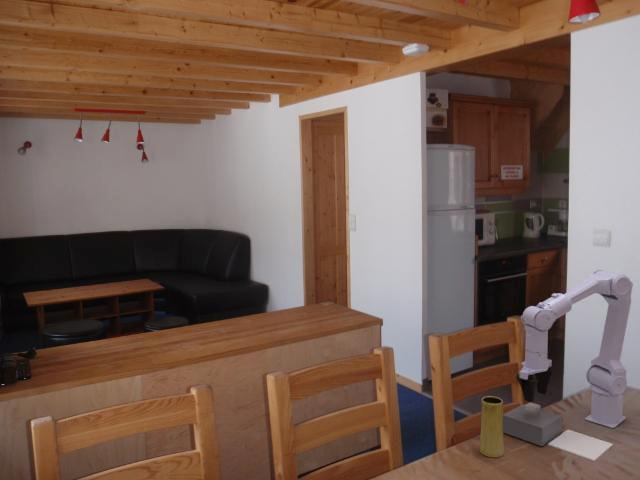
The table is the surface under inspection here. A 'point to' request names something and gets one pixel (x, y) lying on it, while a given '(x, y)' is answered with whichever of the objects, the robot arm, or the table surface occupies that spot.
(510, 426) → the cover
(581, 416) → the table surface
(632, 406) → the table surface
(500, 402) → the vase
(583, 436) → the mat
